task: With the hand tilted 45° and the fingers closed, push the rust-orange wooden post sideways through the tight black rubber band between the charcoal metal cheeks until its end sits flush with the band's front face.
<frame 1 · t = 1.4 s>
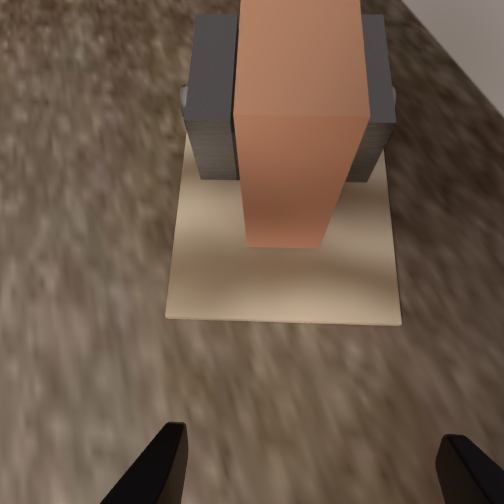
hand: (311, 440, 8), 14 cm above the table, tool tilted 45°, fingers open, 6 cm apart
band block: (282, 198, 26), resting on base board
base board: (282, 198, 26), on the table
peg post: (289, 149, 19), point 7 cm above the table, slide at 0.0 cm
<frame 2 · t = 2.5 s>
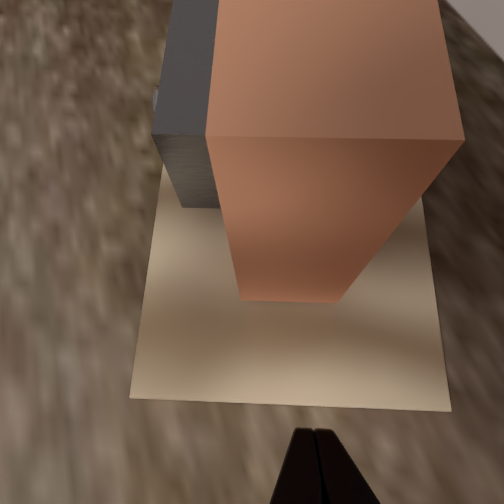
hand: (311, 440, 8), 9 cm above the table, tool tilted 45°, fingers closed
band block: (287, 232, 20), resting on base board
base board: (287, 232, 20), on the table
peg post: (300, 177, 13), point 7 cm above the table, slide at 0.0 cm
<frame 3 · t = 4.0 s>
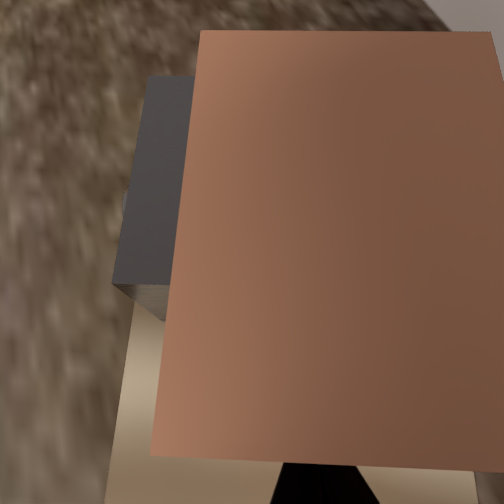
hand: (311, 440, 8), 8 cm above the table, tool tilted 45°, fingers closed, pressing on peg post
band block: (288, 350, 17), resting on base board
base board: (288, 350, 17), on the table
peg post: (305, 305, 10), point 7 cm above the table, slide at 1.5 cm, touching gripper
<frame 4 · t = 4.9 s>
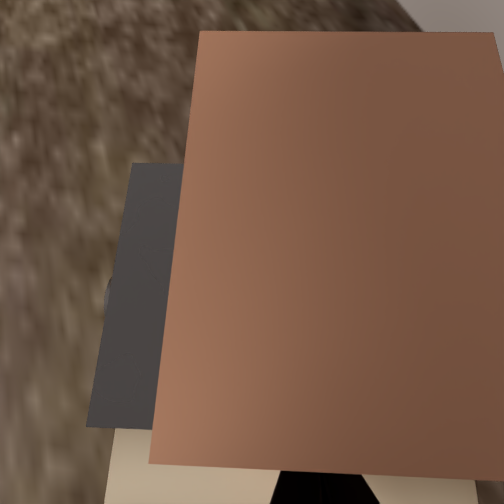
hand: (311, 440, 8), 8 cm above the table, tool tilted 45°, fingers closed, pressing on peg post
band block: (288, 446, 15), resting on base board
base board: (288, 446, 15), on the table
peg post: (305, 306, 10), point 7 cm above the table, slide at 5.3 cm, touching gripper
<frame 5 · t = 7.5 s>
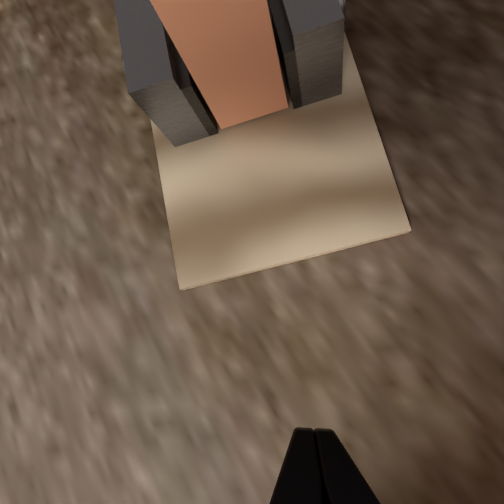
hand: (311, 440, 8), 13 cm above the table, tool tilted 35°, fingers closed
band block: (260, 139, 25), resting on base board
base board: (260, 139, 25), on the table
peg post: (218, 4, 19), point 7 cm above the table, slide at 5.0 cm
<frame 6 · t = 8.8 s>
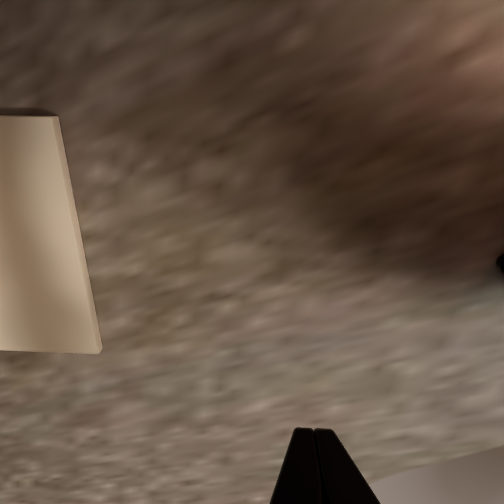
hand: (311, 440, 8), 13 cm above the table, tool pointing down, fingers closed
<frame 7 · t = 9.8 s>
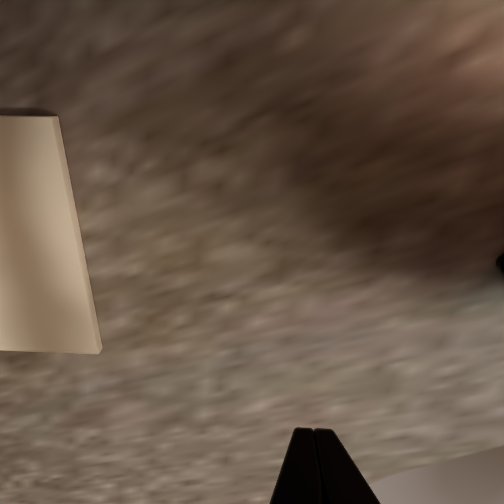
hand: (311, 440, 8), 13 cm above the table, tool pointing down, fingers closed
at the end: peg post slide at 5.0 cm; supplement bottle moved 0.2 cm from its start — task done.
